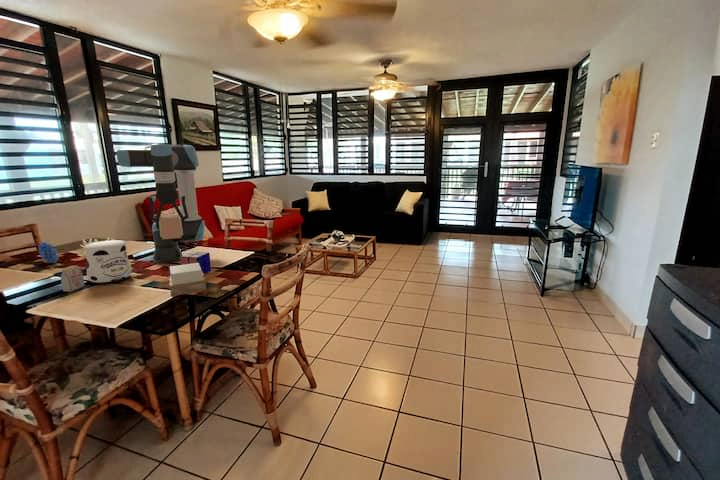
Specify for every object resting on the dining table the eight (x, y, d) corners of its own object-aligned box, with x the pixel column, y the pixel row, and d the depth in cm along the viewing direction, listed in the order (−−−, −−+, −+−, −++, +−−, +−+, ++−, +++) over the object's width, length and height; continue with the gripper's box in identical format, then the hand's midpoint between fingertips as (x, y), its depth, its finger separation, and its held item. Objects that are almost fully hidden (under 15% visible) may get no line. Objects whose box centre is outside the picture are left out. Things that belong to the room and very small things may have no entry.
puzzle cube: (199, 276, 168) (197, 257, 166) (181, 275, 170) (179, 256, 167) (211, 270, 177) (209, 252, 175) (194, 269, 179) (192, 251, 177)
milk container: (119, 286, 154) (113, 248, 150) (79, 286, 153) (72, 248, 149) (140, 273, 171) (135, 239, 167) (104, 274, 170) (98, 239, 165)
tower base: (170, 286, 156) (169, 276, 155) (203, 281, 163) (202, 271, 162) (171, 297, 144) (169, 286, 143) (206, 291, 151) (205, 280, 150)
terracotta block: (163, 235, 147) (160, 215, 145) (181, 234, 150) (178, 214, 148) (162, 239, 141) (159, 218, 139) (181, 237, 144) (178, 217, 142)
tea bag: (63, 291, 148) (58, 269, 145) (77, 285, 154) (73, 265, 152) (70, 291, 147) (66, 270, 145) (84, 286, 154) (80, 265, 151)
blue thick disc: (33, 264, 183) (28, 243, 180) (46, 261, 189) (42, 240, 186) (50, 266, 181) (45, 244, 178) (63, 262, 187) (59, 241, 184)
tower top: (170, 276, 154) (169, 266, 153) (199, 272, 160) (198, 262, 159) (172, 285, 144) (170, 274, 143) (202, 280, 150) (201, 269, 149)
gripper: (136, 183, 132) (144, 239, 138) (192, 182, 141) (197, 235, 147) (138, 182, 139) (145, 235, 144) (191, 181, 148) (197, 231, 153)
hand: (172, 235), depth 146 cm, fingers closed on terracotta block, 7 cm apart
